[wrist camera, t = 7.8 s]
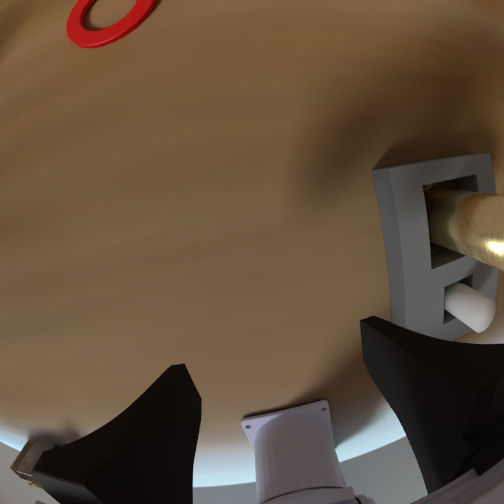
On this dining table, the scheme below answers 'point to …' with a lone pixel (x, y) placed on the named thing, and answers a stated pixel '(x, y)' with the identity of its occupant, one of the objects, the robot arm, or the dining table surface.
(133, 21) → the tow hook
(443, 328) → the grey holder block
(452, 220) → the cylinder
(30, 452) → the ruin model on sheet
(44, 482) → the robot arm
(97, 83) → the dining table surface
